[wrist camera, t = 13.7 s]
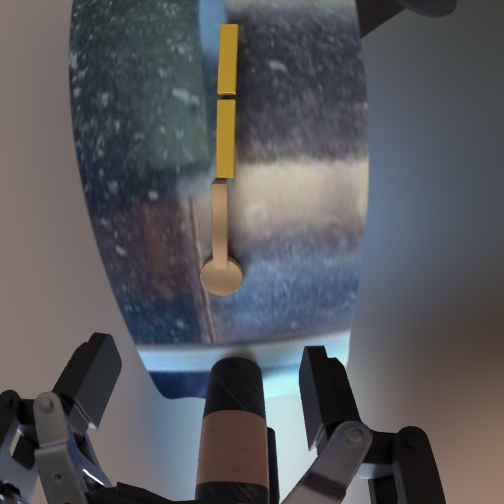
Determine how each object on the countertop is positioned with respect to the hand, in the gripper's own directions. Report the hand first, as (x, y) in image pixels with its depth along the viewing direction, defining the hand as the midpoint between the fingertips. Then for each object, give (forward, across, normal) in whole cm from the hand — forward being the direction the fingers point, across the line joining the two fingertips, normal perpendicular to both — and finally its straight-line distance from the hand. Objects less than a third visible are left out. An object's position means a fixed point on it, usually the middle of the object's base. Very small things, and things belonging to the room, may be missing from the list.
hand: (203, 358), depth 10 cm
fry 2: (+18, 0, -8) cm, 20 cm away
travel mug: (+18, 0, +22) cm, 29 cm away
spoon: (+18, +1, +2) cm, 18 cm away
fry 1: (+18, 0, -15) cm, 24 cm away
